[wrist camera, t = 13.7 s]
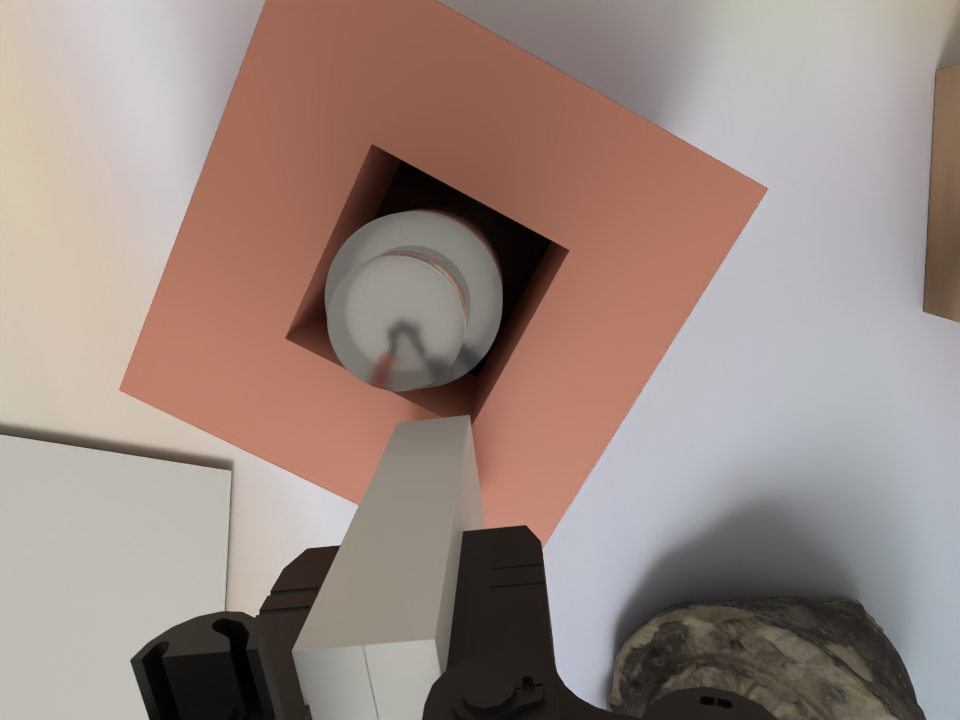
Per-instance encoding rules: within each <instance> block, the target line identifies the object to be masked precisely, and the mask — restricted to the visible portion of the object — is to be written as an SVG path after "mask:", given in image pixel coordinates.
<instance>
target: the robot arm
mask: <svg viewBox="0 0 960 720" xmlns="http://www.w3.org/2000/svg"><path fill="white" fill-rule="evenodd" d="M270 592H271V595H270V596H267V598H266V600H265V602H264V603H263V605H262V607H261V608H260V610H259V612H260V613H259V615H256V617H255V618H254V617H252V616H250V615H248V614H246V613H244V612H230V611H221V612H216V613H211V614H206V615H201V616H197V617H195V618H192V619H190V620H188V621H185V622H183V623H180V624H178V625H175V626H173V627H171V628H170V629H168V630H167V631H165V632H163V633H162V634H160V635H159V636H157V637H156V638H154V639H152V640H151V641H149V642H148V643H147V644H146V645H145V646H144V647H143V648H142V649H141V650H140V651H139V652H138V653H137V654H136V655H135V656H133V657H132V658H131V659H130V662H131V665H132V668H133V671H134V675H135V678H136V681H137V684H138V687H139V690H140V693H141V696H142V699H143V702H144V705H145V708H146V711H147V714H148V717H149V720H778V719H777V718H776V717H775V716H774V715H772V714H771V713H770V712H769V711H768V710H767V709H765V708H764V707H763V706H762V705H760V704H758V703H756V702H754V701H752V700H750V699H748V698H746V697H744V696H741V695H739V694H737V693H735V692H732V691H727V690H721V689H715V688H710V687H695V688H686V689H677V690H675V691H673V692H671V693H669V694H667V695H665V696H663V697H661V698H659V699H657V700H655V701H654V703H653V704H652V705H651V706H650V708H649V709H648V710H647V711H646V712H645V714H644V715H643V716H642V717H641V718H636V717H632V716H627V715H622V714H617V713H613V712H610V711H607V710H603V709H600V708H597V707H594V706H593V705H591V704H589V703H587V702H585V701H584V700H582V699H580V698H578V697H577V696H576V695H575V694H574V693H573V692H572V691H570V690H569V689H568V688H567V687H566V686H565V684H564V683H563V681H562V680H561V678H560V677H559V675H558V674H557V670H556V665H555V656H554V646H553V637H552V628H551V619H550V611H549V602H548V594H547V586H546V577H545V569H544V560H543V552H542V544H541V541H540V540H539V539H538V538H537V536H536V535H535V534H534V533H533V532H532V531H531V530H530V529H529V528H528V526H527V525H520V526H510V527H500V528H490V529H486V525H485V519H484V512H483V505H482V498H481V491H480V484H479V477H478V470H477V463H476V456H475V449H474V442H473V435H472V428H471V421H470V415H464V416H455V417H446V418H437V419H428V420H419V421H410V422H401V423H397V424H396V427H395V429H394V431H393V433H392V435H391V437H390V440H389V442H388V444H387V446H386V448H385V450H384V453H383V455H382V457H381V459H380V461H379V463H378V466H377V468H376V470H375V472H374V474H373V476H372V479H371V481H370V483H369V485H368V487H367V489H366V492H365V494H364V496H363V498H362V500H361V502H360V505H359V507H358V509H357V511H356V513H355V515H354V518H353V520H352V522H351V524H350V526H349V528H348V531H347V533H346V535H345V537H344V539H343V541H342V544H341V545H340V546H330V547H320V548H309V549H306V550H305V551H304V552H303V553H302V554H300V555H299V556H298V557H297V558H296V559H295V560H293V561H292V562H291V563H290V564H289V565H288V566H286V567H285V568H284V569H283V571H282V572H281V574H280V576H279V578H278V579H277V581H276V583H275V584H274V586H273V588H272V590H271V591H270Z"/></svg>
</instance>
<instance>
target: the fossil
mask: <svg viewBox="0 0 960 720" xmlns="http://www.w3.org/2000/svg"><path fill="white" fill-rule="evenodd" d="M695 687H710V688H715V689H721V690H727V691H732V692H735V693H737V694H739V695H741V696H744V697H746V698H748V699H750V700H752V701H754V702H756V703H758V704H760V705H762V706H763V707H764V708H765V709H767V710H768V711H769V712H770V713H771V714H772V715H774V716H775V717H776V718H777V719H778V720H926V718H925V716H924V713H923V710H922V709H921V707H920V706H919V705H918V704H917V700H916V696H915V692H914V688H913V685H912V683H911V680H910V678H909V675H908V672H907V670H906V668H905V666H904V663H903V661H902V659H901V657H900V655H899V654H898V652H897V651H896V649H895V648H894V646H893V645H892V644H891V642H890V641H889V639H888V638H887V637H886V635H885V634H884V633H883V629H882V628H881V627H880V626H879V625H877V624H876V622H875V620H874V619H873V618H872V617H871V616H870V615H869V614H868V613H867V612H866V611H865V609H864V608H863V606H862V605H861V603H860V602H859V601H858V600H852V599H845V600H839V601H835V602H831V603H828V602H826V603H824V604H823V605H820V604H817V603H814V602H811V601H809V600H807V599H804V598H802V597H787V596H778V597H770V598H762V599H751V600H734V601H728V602H686V603H681V604H676V605H673V606H671V607H669V608H667V609H665V610H663V611H662V612H660V613H658V614H656V615H655V616H653V617H652V618H650V619H649V620H648V621H646V622H645V623H644V624H643V625H642V626H641V627H640V628H639V629H638V630H637V631H636V632H635V633H634V634H633V635H632V636H631V637H630V638H629V639H628V640H627V641H626V642H625V643H623V644H622V646H621V648H620V650H619V651H618V653H617V655H616V656H615V663H614V673H613V688H612V690H611V692H610V693H609V695H608V697H607V711H610V712H613V713H617V714H622V715H627V716H632V717H636V718H641V717H642V716H643V715H644V714H645V712H646V711H647V710H648V709H649V708H650V706H651V705H652V704H653V703H654V701H655V700H657V699H659V698H661V697H663V696H665V695H667V694H669V693H671V692H673V691H675V690H677V689H686V688H695Z"/></svg>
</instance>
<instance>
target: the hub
mask: <svg viewBox="0 0 960 720" xmlns="http://www.w3.org/2000/svg"><path fill="white" fill-rule="evenodd" d="M551 241H552V240H550V239H548V238H546V237H544V236H542V235H540V234H539V233H537V232H535V231H533V230H531V229H529V228H527V227H526V226H524V225H522V224H520V223H518V222H516V221H514V220H513V219H511V218H509V217H507V216H505V215H503V214H501V213H500V212H498V211H496V210H494V209H492V208H490V207H488V206H487V205H485V204H483V203H481V202H479V201H477V200H475V199H474V198H472V197H470V196H468V195H466V194H464V193H462V192H460V191H459V190H457V189H455V188H453V187H451V186H449V185H447V184H446V183H444V182H442V181H440V180H438V179H436V178H434V177H433V176H431V175H429V174H427V173H425V172H423V171H421V170H420V169H418V168H416V167H414V166H412V165H410V164H408V163H407V162H405V161H403V160H401V162H400V164H399V166H398V168H397V171H396V173H395V175H394V177H393V179H392V181H391V184H390V186H389V188H388V190H387V192H386V194H385V197H384V199H383V201H382V203H381V205H380V207H379V210H378V212H377V214H376V216H375V218H374V220H373V221H372V222H370V223H368V224H366V225H364V226H363V227H361V228H360V229H359V230H357V231H356V232H355V233H354V234H353V235H351V236H350V237H349V238H348V239H347V240H346V242H345V243H344V244H343V245H342V247H341V248H340V249H339V251H338V253H337V254H336V256H335V258H334V260H333V262H332V264H331V267H330V269H329V273H328V276H327V280H326V287H325V308H326V315H327V326H328V333H329V337H330V341H331V344H332V347H333V349H334V351H335V353H336V355H337V357H338V358H339V360H340V361H341V362H342V364H343V365H344V366H345V367H346V368H347V369H348V370H349V371H350V372H351V373H352V374H353V375H354V376H355V377H357V378H358V379H360V380H361V381H363V382H365V383H367V384H369V385H371V386H373V387H376V388H379V389H383V390H388V391H409V390H414V389H419V388H430V387H436V386H440V385H443V384H446V383H449V382H451V381H453V380H456V379H458V378H459V377H461V376H463V375H464V374H466V373H469V374H471V375H473V376H475V377H478V375H479V373H480V371H481V369H482V368H483V366H484V364H485V362H486V360H487V358H488V357H489V355H490V353H491V351H492V349H493V347H494V346H495V344H496V342H497V340H498V338H499V336H500V335H501V333H502V331H503V329H504V327H505V325H506V324H507V322H508V320H509V318H510V316H511V314H512V313H513V311H514V309H515V307H516V305H517V303H518V302H519V300H520V298H521V296H522V294H523V292H524V291H525V289H526V287H527V285H528V283H529V281H530V280H531V278H532V276H533V274H534V272H535V270H536V269H537V267H538V265H539V263H540V261H541V259H542V258H543V256H544V254H545V252H546V250H547V248H548V247H549V245H550V243H551Z"/></svg>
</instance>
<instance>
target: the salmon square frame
mask: <svg viewBox="0 0 960 720" xmlns="http://www.w3.org/2000/svg"><path fill="white" fill-rule="evenodd" d="M401 160H403V161H405V162H407V163H408V164H410V165H412V166H414V167H416V168H418V169H420V170H421V171H423V172H425V173H427V174H429V175H431V176H433V177H434V178H436V179H438V180H440V181H442V182H444V183H446V184H447V185H449V186H451V187H453V188H455V189H457V190H459V191H460V192H462V193H464V194H466V195H468V196H470V197H472V198H474V199H475V200H477V201H479V202H481V203H483V204H485V205H487V206H488V207H490V208H492V209H494V210H496V211H498V212H500V213H501V214H503V215H505V216H507V217H509V218H511V219H513V220H514V221H516V222H518V223H520V224H522V225H524V226H526V227H527V228H529V229H531V230H533V231H535V232H537V233H539V234H540V235H542V236H544V237H546V238H548V239H550V240H552V241H551V243H550V245H549V247H548V248H547V250H546V252H545V254H544V256H543V258H542V259H541V261H540V263H539V265H538V267H537V269H536V270H535V272H534V274H533V276H532V278H531V280H530V281H529V283H528V285H527V287H526V289H525V291H524V292H523V294H522V296H521V298H520V300H519V302H518V303H517V305H516V307H515V309H514V311H513V313H512V314H511V316H510V318H509V320H508V322H507V324H506V325H505V327H504V329H503V331H502V333H501V335H500V336H499V338H498V340H497V342H496V344H495V346H494V347H493V349H492V351H491V353H490V355H489V357H488V358H487V360H486V362H485V364H484V366H483V368H482V369H481V371H480V373H479V375H478V377H475V376H473V375H471V374H469V373H466V374H464V375H463V376H461V377H459V378H458V379H456V380H453V381H451V382H449V383H446V384H443V385H440V386H436V387H430V388H419V389H414V390H409V391H388V390H383V389H379V388H376V387H373V386H371V385H369V384H367V383H365V382H363V381H361V380H360V379H358V378H357V377H355V376H354V375H353V374H352V373H351V372H350V371H349V370H348V369H347V368H346V367H345V366H344V365H343V364H342V362H341V361H340V360H339V358H338V357H337V355H336V353H335V351H334V349H333V347H332V344H331V341H330V337H329V333H328V326H327V315H326V308H325V287H326V280H327V276H328V273H329V269H330V267H331V264H332V262H333V260H334V258H335V256H336V254H337V253H338V251H339V249H340V248H341V247H342V245H343V244H344V243H345V242H346V240H347V239H348V238H349V237H350V236H351V235H353V234H354V233H355V232H356V231H357V230H359V229H360V228H361V227H363V226H364V225H366V224H368V223H370V222H372V221H373V220H374V218H375V216H376V214H377V212H378V210H379V207H380V205H381V203H382V201H383V199H384V197H385V194H386V192H387V190H388V188H389V186H390V184H391V181H392V179H393V177H394V175H395V173H396V171H397V168H398V166H399V164H400V162H401ZM767 190H768V188H766V187H765V186H763V185H761V184H759V183H757V182H756V181H754V180H752V179H750V178H749V177H747V176H745V175H743V174H742V173H740V172H738V171H736V170H735V169H733V168H731V167H729V166H727V165H726V164H724V163H722V162H720V161H719V160H717V159H715V158H713V157H712V156H710V155H708V154H706V153H705V152H703V151H701V150H699V149H697V148H696V147H694V146H692V145H690V144H689V143H687V142H685V141H683V140H682V139H680V138H678V137H676V136H675V135H673V134H671V133H669V132H667V131H666V130H664V129H662V128H660V127H659V126H657V125H655V124H653V123H652V122H650V121H648V120H646V119H645V118H643V117H641V116H639V115H637V114H636V113H634V112H632V111H630V110H629V109H627V108H625V107H623V106H622V105H620V104H618V103H616V102H615V101H613V100H611V99H609V98H607V97H606V96H604V95H602V94H600V93H599V92H597V91H595V90H593V89H592V88H590V87H588V86H586V85H585V84H583V83H581V82H579V81H577V80H576V79H574V78H572V77H570V76H569V75H567V74H565V73H563V72H562V71H560V70H558V69H556V68H555V67H553V66H551V65H549V64H547V63H546V62H544V61H542V60H540V59H539V58H537V57H535V56H533V55H532V54H530V53H528V52H526V51H525V50H523V49H521V48H519V47H517V46H516V45H514V44H512V43H510V42H509V41H507V40H505V39H503V38H502V37H500V36H498V35H496V34H495V33H493V32H491V31H489V30H488V29H486V28H484V27H482V26H480V25H479V24H477V23H475V22H473V21H472V20H470V19H468V18H466V17H465V16H463V15H461V14H459V13H458V12H456V11H454V10H452V9H450V8H449V7H447V6H445V5H443V4H442V3H440V2H438V1H436V0H266V2H265V5H264V7H263V10H262V13H261V15H260V18H259V20H258V23H257V26H256V28H255V31H254V34H253V36H252V39H251V42H250V44H249V47H248V50H247V52H246V55H245V58H244V60H243V63H242V65H241V68H240V71H239V73H238V76H237V79H236V81H235V84H234V87H233V89H232V92H231V95H230V97H229V100H228V103H227V105H226V108H225V111H224V113H223V116H222V118H221V121H220V124H219V126H218V129H217V132H216V134H215V137H214V140H213V142H212V145H211V148H210V150H209V153H208V156H207V158H206V161H205V163H204V166H203V169H202V171H201V174H200V177H199V179H198V182H197V185H196V187H195V190H194V193H193V195H192V198H191V201H190V203H189V206H188V209H187V211H186V214H185V216H184V219H183V222H182V224H181V227H180V230H179V232H178V235H177V238H176V240H175V243H174V246H173V248H172V251H171V254H170V256H169V259H168V261H167V264H166V267H165V269H164V272H163V275H162V277H161V280H160V283H159V285H158V288H157V291H156V293H155V296H154V299H153V301H152V304H151V307H150V309H149V312H148V314H147V317H146V320H145V322H144V325H143V328H142V330H141V333H140V336H139V338H138V341H137V344H136V346H135V349H134V352H133V354H132V357H131V359H130V362H129V365H128V367H127V370H126V373H125V375H124V378H123V381H122V383H121V386H120V389H119V390H120V391H122V392H124V393H126V394H128V395H130V396H132V397H135V398H137V399H139V400H141V401H143V402H145V403H147V404H149V405H151V406H153V407H155V408H157V409H160V410H162V411H164V412H166V413H168V414H170V415H172V416H174V417H176V418H178V419H180V420H182V421H185V422H187V423H189V424H191V425H193V426H195V427H197V428H199V429H201V430H203V431H205V432H207V433H210V434H212V435H214V436H216V437H218V438H220V439H222V440H224V441H226V442H228V443H230V444H233V445H235V446H237V447H239V448H241V449H243V450H245V451H247V452H249V453H251V454H253V455H255V456H258V457H260V458H262V459H264V460H266V461H268V462H270V463H272V464H274V465H276V466H278V467H280V468H283V469H285V470H287V471H289V472H291V473H293V474H295V475H297V476H299V477H301V478H303V479H305V480H308V481H310V482H312V483H314V484H316V485H318V486H320V487H322V488H324V489H326V490H328V491H330V492H333V493H335V494H337V495H339V496H341V497H343V498H345V499H347V500H349V501H351V502H353V503H356V504H358V505H360V502H361V500H362V498H363V496H364V494H365V492H366V489H367V487H368V485H369V483H370V481H371V479H372V476H373V474H374V472H375V470H376V468H377V466H378V463H379V461H380V459H381V457H382V455H383V453H384V450H385V448H386V446H387V444H388V442H389V440H390V437H391V435H392V433H393V431H394V429H395V427H396V424H397V423H401V422H410V421H419V420H428V419H437V418H446V417H455V416H464V415H470V421H471V428H472V435H473V442H474V449H475V456H476V463H477V470H478V477H479V484H480V491H481V498H482V505H483V512H484V519H485V525H486V529H490V528H500V527H510V526H520V525H527V526H528V528H529V529H530V530H531V531H532V532H533V533H534V534H535V535H536V536H537V538H538V539H539V540H540V541H541V544H542V549H543V547H544V546H545V544H546V542H547V541H548V539H549V538H550V536H551V534H552V533H553V531H554V530H555V528H556V526H557V525H558V523H559V522H560V520H561V518H562V517H563V515H564V514H565V512H566V510H567V509H568V507H569V506H570V504H571V502H572V501H573V499H574V498H575V496H576V495H577V493H578V491H579V490H580V488H581V487H582V485H583V483H584V482H585V480H586V479H587V477H588V475H589V474H590V472H591V471H592V469H593V467H594V466H595V464H596V463H597V461H598V459H599V458H600V456H601V455H602V453H603V451H604V450H605V448H606V447H607V445H608V444H609V442H610V440H611V439H612V437H613V436H614V434H615V432H616V431H617V429H618V428H619V426H620V424H621V423H622V421H623V420H624V418H625V416H626V415H627V413H628V412H629V410H630V408H631V407H632V405H633V404H634V402H635V400H636V399H637V397H638V396H639V394H640V393H641V391H642V389H643V388H644V386H645V385H646V383H647V381H648V380H649V378H650V377H651V375H652V373H653V372H654V370H655V369H656V367H657V365H658V364H659V362H660V361H661V359H662V357H663V356H664V354H665V353H666V351H667V349H668V348H669V346H670V345H671V343H672V342H673V340H674V338H675V337H676V335H677V334H678V332H679V330H680V329H681V327H682V326H683V324H684V322H685V321H686V319H687V318H688V316H689V314H690V313H691V311H692V310H693V308H694V306H695V305H696V303H697V302H698V300H699V298H700V297H701V295H702V294H703V292H704V291H705V289H706V287H707V286H708V284H709V283H710V281H711V279H712V278H713V276H714V275H715V273H716V271H717V270H718V268H719V267H720V265H721V263H722V262H723V260H724V259H725V257H726V255H727V254H728V252H729V251H730V249H731V247H732V246H733V244H734V243H735V241H736V240H737V238H738V236H739V235H740V233H741V232H742V230H743V228H744V227H745V225H746V224H747V222H748V220H749V219H750V217H751V216H752V214H753V212H754V211H755V209H756V208H757V206H758V204H759V203H760V201H761V200H762V198H763V196H764V195H765V193H766V192H767Z"/></svg>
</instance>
